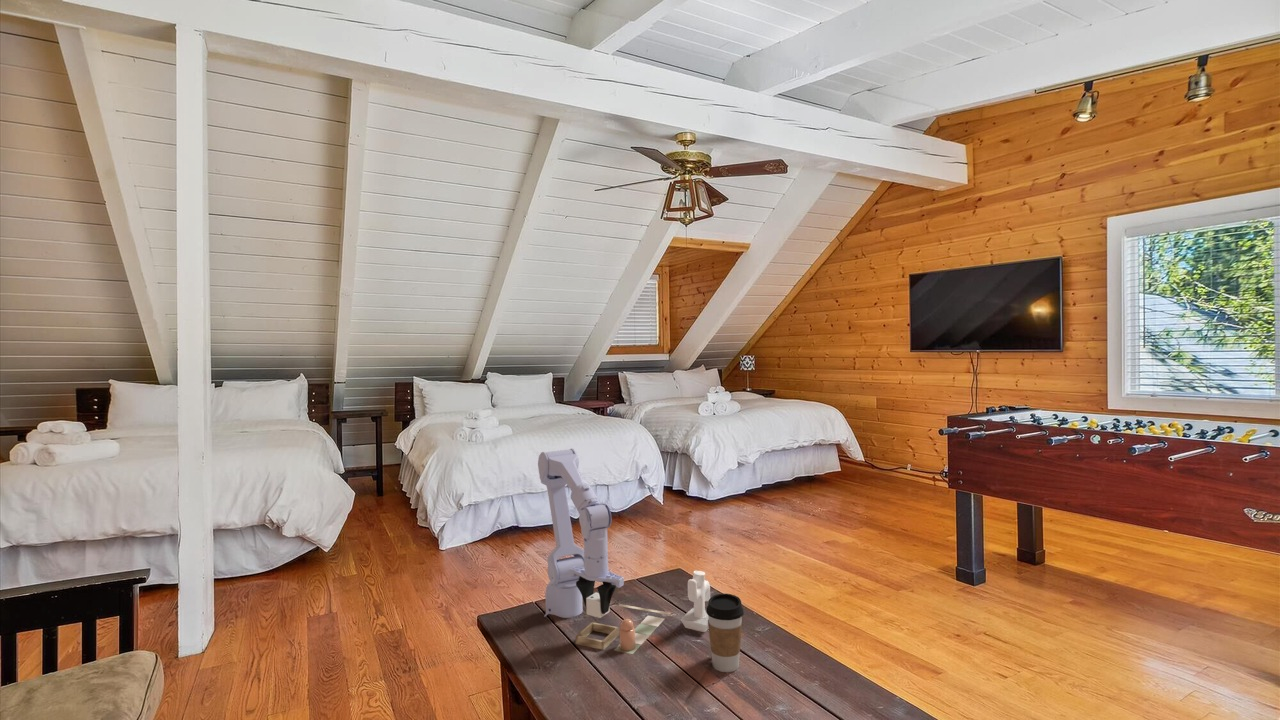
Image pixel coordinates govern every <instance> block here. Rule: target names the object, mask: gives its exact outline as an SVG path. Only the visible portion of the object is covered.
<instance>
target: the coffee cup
mask: <svg viewBox="0 0 1280 720" xmlns="http://www.w3.org/2000/svg"><path fill="white" fill-rule="evenodd" d="M705 611H706V613H707V615H708V627H709V629H708V635H709V644H710V652H711V653H710V654H711V664H712V668H713V669H714V670H716V671H718V672H722V673H732V672H735V671H737V670H738V669H739V666H740V652H741V643H742V642H741V641H742V633H743V632H742V631H743V630H742V629H743V621H742V618H743V616H744V613H745V612H744V607H743V604H742V599H740V597H738V596H737V595H735V594H731V593H719V594H718V593H717V594H714V595H712V596H710V599H709V601H707V606H706V609H705Z"/></svg>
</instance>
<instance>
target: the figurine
mask: <svg viewBox="0 0 1280 720" xmlns="http://www.w3.org/2000/svg"><path fill="white" fill-rule="evenodd" d="M687 597H688V599H689V601H690V602H693V607H692V608H691V609H689V610H688V611H687V612H686V613H685V614H684V615H683V616H682V617H680V621H681V623H682V624H683V627H684V628H685V629H690V630H692V631H696V632H702V633H706V632H707V631H709V627H708V615H707V613H706V608H705V607H706V605H705V604H706V603H705V602H709V599H710V598H711V585H710V582H709V581H708V580H706V572H705V571H701V570H694V571H693V572H692V579H691V578H690V579H688V581H687Z"/></svg>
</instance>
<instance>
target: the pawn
mask: <svg viewBox="0 0 1280 720" xmlns="http://www.w3.org/2000/svg"><path fill="white" fill-rule="evenodd" d="M635 628H636V627H634V622H633V621H632V620H631V619H630V618H625V619H623V620H622V621H621V623H620V627H619V645H620V649H621V650H623V651H631V650H634V649H635V644H636V643H635Z"/></svg>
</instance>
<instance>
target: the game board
mask: <svg viewBox="0 0 1280 720" xmlns="http://www.w3.org/2000/svg"><path fill="white" fill-rule="evenodd" d="M618 606H619V607H621V608H622V607H624V608H629V609H633V610H640V611H646V612H652V613H657V614H663V615H668V616H670V615H671V614H672V612H668V611H662V610H656V609H652V608H651V609H649V608H644V607H639V606H635V605H633V606H632V605H628V604H623V603H619V604H618ZM664 621H665V618H662V617H657V616H653V615H647V616H646V617H645V618H644V619H643V620H642V621H641V622H640V623H639V624H638V625H637V626H636V627H634V628H635V649H634V650H631V651H623V650H621V649H620V644H618V645H617V647H616V648H614V652H615V651H616V652H620V653H624V654H629V655H634V653H635V652H636V651H637V650H638V649H639V648H640V647H641V646H642V645H643V644H644V643H645V641H647V640H648V638H649V637H650V636H651V635H652V633H654V632H655V630H656V629H657V628H658V627H660V625H661V624H662V623H663V622H664ZM593 632H598V633H602V634H607V636H606V637H604V639H602V640H601V639H597V638H591V637H588V636H589V635H590V634H591V633H593ZM618 637H620V627H618V626H614V625H609V624H604V623H600V622H599V623H598V622H593V621H591V622H590V623H589V624H588V625H587V626H586V627H584V629H582V630H581V631H580V632H579V633H578V634H576V635H575V644H576V645H579V646H583V647H588V648H593V649H596V650H597V649H598V650H603V651H604V650H606V649H607V648H608V647H609V645H611V644H612V643H613V641H615V640H616V638H618Z"/></svg>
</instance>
